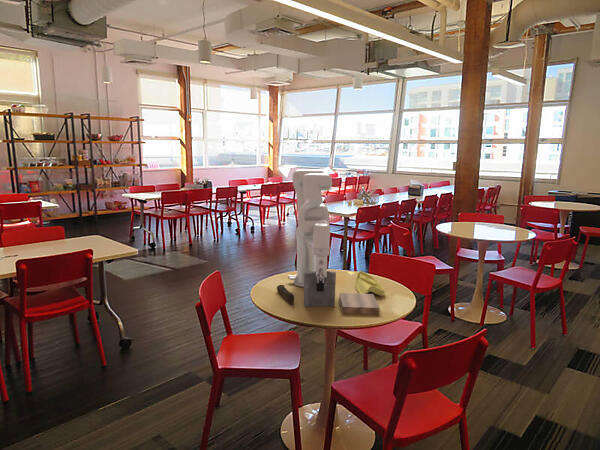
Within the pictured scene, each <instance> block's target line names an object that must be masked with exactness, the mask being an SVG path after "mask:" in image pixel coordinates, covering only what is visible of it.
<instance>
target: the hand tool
mask: <svg viewBox="0 0 600 450" xmlns="http://www.w3.org/2000/svg"><path fill="white" fill-rule="evenodd" d="M276 291H277V292H278V293H280V294H281V295H282V297H283V298H284V299H285V300H286V303H288V304H289V305H291V306H294V304H295V295H294V294H293V293H292V292H291V291H290V292H289V290H288V289H287V288H286V287H285V284H279V285H277V287H276Z"/></svg>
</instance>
